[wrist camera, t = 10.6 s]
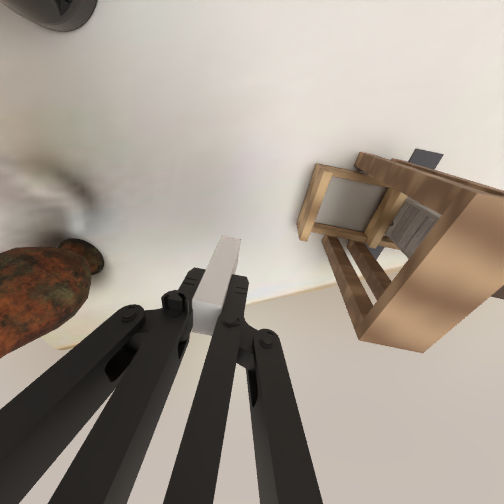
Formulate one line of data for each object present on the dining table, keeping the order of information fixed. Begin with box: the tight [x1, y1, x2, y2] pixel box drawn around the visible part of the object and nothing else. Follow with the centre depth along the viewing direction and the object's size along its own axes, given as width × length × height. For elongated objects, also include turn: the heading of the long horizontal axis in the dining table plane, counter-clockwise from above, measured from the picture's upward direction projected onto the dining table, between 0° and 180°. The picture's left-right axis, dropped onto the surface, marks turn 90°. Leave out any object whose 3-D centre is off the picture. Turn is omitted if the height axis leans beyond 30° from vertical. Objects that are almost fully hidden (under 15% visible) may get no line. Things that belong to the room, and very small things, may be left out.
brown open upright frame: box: [322, 152, 504, 353], centre depth 26 cm, size 16×7×21 cm, turn 170°
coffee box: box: [385, 196, 504, 299], centre depth 28 cm, size 9×6×16 cm
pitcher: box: [0, 239, 104, 358], centre depth 36 cm, size 17×21×30 cm
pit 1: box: [363, 242, 384, 259], centre depth 39 cm, size 4×4×1 cm
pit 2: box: [409, 149, 444, 170], centre depth 30 cm, size 4×4×1 cm
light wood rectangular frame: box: [297, 164, 408, 250], centre depth 32 cm, size 11×26×6 cm, turn 80°
